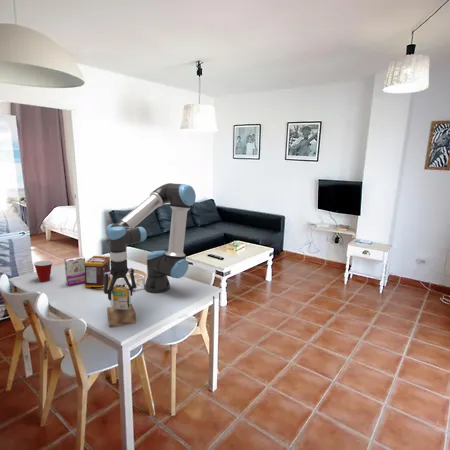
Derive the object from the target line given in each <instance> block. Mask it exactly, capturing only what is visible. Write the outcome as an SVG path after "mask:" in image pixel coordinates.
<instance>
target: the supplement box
mask: <svg viewBox="0 0 450 450" xmlns="http://www.w3.org/2000/svg"><path fill="white" fill-rule="evenodd" d="M110 261H111V259H110V255H109V256H105V255H93V256H92V257H91V258H89V259H88V260H87V261H85V283H84V284H85V288H91V287H102V286H103V285H104V282H105V276H104V273H105V272H106V273H107V272H110V270H111V263H110ZM109 278H110V279H111V275H110V276H109Z"/></svg>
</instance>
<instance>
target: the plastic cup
mask: <svg viewBox="0 0 450 450" xmlns="http://www.w3.org/2000/svg"><path fill="white" fill-rule="evenodd" d="M32 263H33V265H34V268H35V271H36V274H37V278H38V280H39V282H41V283H44V282H48V281H50V280H51V279H50V278H51V274H52V265H53V263H54V261H52V260H39V261H34V262H32Z"/></svg>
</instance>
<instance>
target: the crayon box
mask: <svg viewBox="0 0 450 450" xmlns="http://www.w3.org/2000/svg"><path fill="white" fill-rule="evenodd" d="M112 293H113V305H114V307H113V309H128V308H129V304H130V303H129V293H128V288H127V287H122V286H114V287H113V290H112Z"/></svg>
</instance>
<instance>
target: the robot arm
mask: <svg viewBox="0 0 450 450" xmlns="http://www.w3.org/2000/svg"><path fill="white" fill-rule="evenodd" d="M196 198H197V197H196V191H195V189H194V188H193V186H191V185H190V184H185V183H172V182H171V183H170V182H169V183H165V184H163V185H160V186H159V187H157V188H155V189H154V190H153V191H152V192H150V193H149V196H148V197H147V198H146V199H145V200H143V201H142V202H141V203H140V204H139V205H137V206H136V207H135V208H133V209H132V210H131V211H130V212H128V214H127V215H125V216H124V217H123V218H122V219H120V220H119V221H118V222H116V223H110V224H108V225H107V227H106V228H105V233H106V236H107V237H108V242H109V256H110V272H107V273H106V272H105V273H104V276H105V282H104V287H103V293H104V294H105V295H107V299H108V301H110V307H114V305H113V293H112V290H113V287H115V285H116V280H117V279H119V278H124V280H125V282H126V284H127V285H128V287H129V289H128V293H129V304H131V303H132V301H131V297H132V296H133V289H134V288H136V284H135V279H136V278H135V277H134V273H135V269H134V268H133V267H131V268H128V259H127V258H128V255H127V254H128V253H127V250H128V249H127V246H129V245H133V244H137V243H141V242H144V241H146V240H147V236H148V234H147V230H146V228H144V227H143V226H138V225H139V224H140V223H142V221H143V220H144V219H146V217H148V216H149V215H151V213H153V212H154V211H155V210H156V209H157V208H158V207H163V205H165V204H169V207H170V209H171V211H172V212H171V219H170V220H171V221H170V230H169V239H168V247H167V248H168V250H167V251H166V250H153V251H150V252H148V253H147V255H146V272H147V277H146V280H145V289H144V290H145V291H146V292H147V293H148V292H149V293H151V294H159V293H164V292H167V291H168V290H169V289H170V287H171V285H170V284H171V283H170V280H169V277H170V278H172V279H182V278H183V277H185V275H186V274H187V272H188V270H189V262H188V260H187V259H186V254H185V253H184V248H185V247H184V246H185V236H186V229H187V228H186V227H187V219H188V217H187V216H188V211H190V210H191V206H193V205H194V204H195V202H196ZM127 273H130V276H129V278H131V282H132V286H131V285H130V283H129V280H128V279H127V275H126V274H127ZM109 276H110V277H111V276H112V277H111V281H110V280H109ZM109 281H110V284H109ZM126 284H125V285H126ZM136 289H137V288H136Z"/></svg>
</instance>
